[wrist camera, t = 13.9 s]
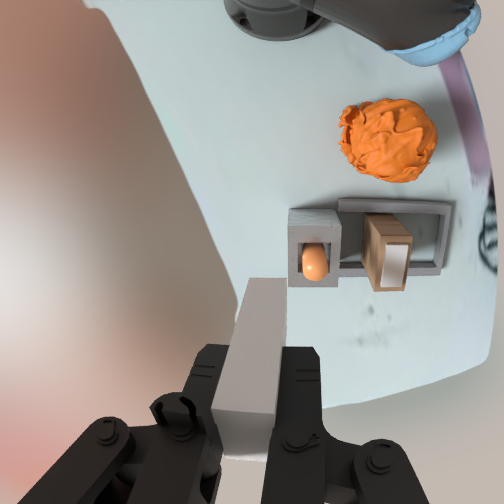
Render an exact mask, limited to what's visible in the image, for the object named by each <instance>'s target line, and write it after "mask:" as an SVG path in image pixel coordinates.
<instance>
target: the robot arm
mask: <svg viewBox="0 0 504 504" xmlns="http://www.w3.org/2000/svg"><path fill="white" fill-rule="evenodd" d="M224 5H225V9H226V11H227V13H228V15H229V17H230V18H231V20H232V21H233V22H234V24H235V25H236V26H237V27H238V28H240V29H241V30H242V31H244V32H245V33H247V34H249V35H251V36H253V37H256V38H259V39H263V40H268V41H288V40H293V39H297V38H300V37H302V36H304V35H306V34H308V33H310V32H311V31H313V30H314V29H315V28H316V27H318V26H319V24H320V23H321V22H322V20H323V19H324V17H325V18H327V19H329V20H331V21H334V22H336V23H338V24H340V25H342V26H344V27H346V28H348V29H350V30H352V31H354V32H356V33H357V34H359V35H361V36H363V37H365V38H367V39H368V40H370V41H372V42H374V43H375V44H377V45H379V47H380V48H381V49H382V50H384V51H386V52H389V53H392V54H394V55H396V56H398V57H399V58H401V59H403V60H404V61H406V62H408V63H409V64H412V65H416V66H420V67H427V66H432V65H435V64H438V63H440V62H442V61H444V60H446V59H448V58H449V57H451V56H452V55H454V54H455V53H456V52H457V51H459V50H460V49H461V48H462V47H463V46H464V45H465V44H466V43H467V42H468V36H470V35H471V34H473V33H474V32H475V31H476V29H477V27H478V25H479V23H480V19H481V10H480V7H479V5H478V4H477V2H476V0H224ZM286 332H287V278H249V281H248V285H247V288H246V292H245V295H244V298H243V302H242V305H241V308H240V312H239V315H238V319H237V322H236V325H235V329H234V332H233V336H232V339H231V342H230V345H219V344H207V345H206V346H205V347H204V348H203V349H202V350H201V351H200V352H198V354H197V357H196V359H195V361H194V364H193V367H192V369H191V371H190V375H189V376H188V379H187V381H186V383H185V386H184V388H183V391H182V392H172V393H168V394H165V395H162V396H161V397H159V398H158V399H156V400H155V401H154V402H153V403H152V405H151V406H150V407H149V408H150V410H151V412H152V414H153V416H154V418H155V420H156V422H157V424H156V425H151V426H136V427H128V426H127V424H126V423H125V422H123V421H122V420H121V419H119V418H116V417H103V418H100V419H97V420H96V421H95V422H93V423H92V424H91V425H90V426H89V427H88V428H87V429H86V430H85V431H84V432H83V433H82V435H80V437H79V438H78V439H77V440H76V441H75V442H74V443H73V444H72V445H71V447H69V448H68V449H67V451H66V452H65V453H64V454H63V455H62V456H61V457H60V458H59V459H58V460H57V461H56V463H55V464H54V465H53V466H52V467H51V468H50V469H49V470H48V471H47V472H46V473H45V474H44V475H43V476H42V478H41V479H40V480H39V481H38V482H37V483H36V484H35V485H34V486H33V487H32V488H31V489H30V490H29V492H28V493H27V494H26V495H25V496H24V497H23V498H22V499H21V500H20V501H19V502H18V503H17V504H215V499H216V495H217V491H218V487H219V483H220V478H221V465H220V462H221V458H222V454H223V453H224V456H225V458H231V459H240V460H250V461H264V462H267V463H266V471H265V477H264V485H263V491H262V498H261V504H324V502H325V503H329V504H429V502H428V500H427V497H426V495H425V493H424V491H423V489H422V486H421V484H420V482H419V480H418V478H417V476H416V474H415V471H414V469H413V467H412V465H411V463H410V461H409V459H408V457H407V455H406V453H405V451H404V450H403V449H402V447H401V446H400V445H399V444H397V443H395V442H393V441H391V440H386V439H377V440H371V441H369V442H367V443H365V444H364V445H362V446H360V445H356V444H351V443H346V442H343V441H340V440H337V439H336V438H334V437H332V436H331V435H330V434H329V433H328V432H327V431H326V429H325V428H324V425H323V421H322V401H321V375H320V357H319V356H318V354H317V353H316V351H315V350H314V348H313V347H286Z"/></svg>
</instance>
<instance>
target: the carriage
mask: <svg viewBox="0 0 504 504" xmlns="http://www.w3.org/2000/svg"><path fill="white" fill-rule="evenodd" d="M412 241H413V236H412V235H411V234H410V232H409V231H408V230H407V229H406V228H405V227H404V226H403V225H402V224H401V223H400V222H399V221H398V220H397V219H396V218H395V217H394V216H393V215H392V214H391V213H365V214H364V230H363V243H362V254H361V261H362V264H363V266H364V268H365V271H366V273H367V275H368V278H369V280H370V283H371V285H372V288H373V290H374V292H380V291H404V289H405V283H406V278H407V273H408V267H409V261H410V254H411V248H412Z"/></svg>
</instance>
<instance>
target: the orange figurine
mask: <svg viewBox="0 0 504 504" xmlns="http://www.w3.org/2000/svg"><path fill="white" fill-rule="evenodd" d="M339 119H341V120H342V121H341V122H340V123H339V124H338V126H339V127H342V126H345V128H344V129H343V130H344V131H343V133H342V141H340V142H339V143H338V144H340V145H342V147H341V151H343V152H344V154H345V156H347V157H348V160H349V163H350V164H352V165H353V167H355V166H356V170H357V171H358V172H360V173H362V174H367V175H373V176H374V177H376V178H377V179H378V178H380V179H382V180H384V181H388V182H398V183H404V182H409V181H411V180H416V179H417V177H418V176H419V175H420V174H421V173H422V171H423V170H424V169H425V168H426V166H427V165H428V164H429V163H430V162H428V161H429V160H430V158H431V156H432V154H433V151H434V149H435V146H436V144H437V138H438V137H437V131H436V127H435V125H434V123H433V122H432V121H431V120H430V119H429V118H428V116H427V115H426V114H425V111H424V109H423V108H421V107H420V106H419V105H418V104H417V103H415V102H413V101H410V100H406V99H398V100H392V99H382V100H380V101H377V102H375V103H372V102H367V101H366V102H364V103H362V104H361V105H360V108H357V106H356V105H353V106H347V108H346V110H343V113H342V116H341V117H339ZM365 166H366V167H365Z"/></svg>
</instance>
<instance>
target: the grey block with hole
mask: <svg viewBox="0 0 504 504" xmlns="http://www.w3.org/2000/svg"><path fill="white" fill-rule="evenodd" d="M341 231H342V225H341V223H340V221H339V219H338V216H337V214H336V212H335V209H289V214H288V287H338V278H339V265H340V250H341ZM305 243H322V244H323V246H324V249H325V254H326V259H327V263H328V273H327V275H326V276H325V277H324V278H323V279H321V280H319V281H312V280H309V279H307V278H306V277H305V276H304V274H303V263H302V247H303V245H304V244H305Z"/></svg>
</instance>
